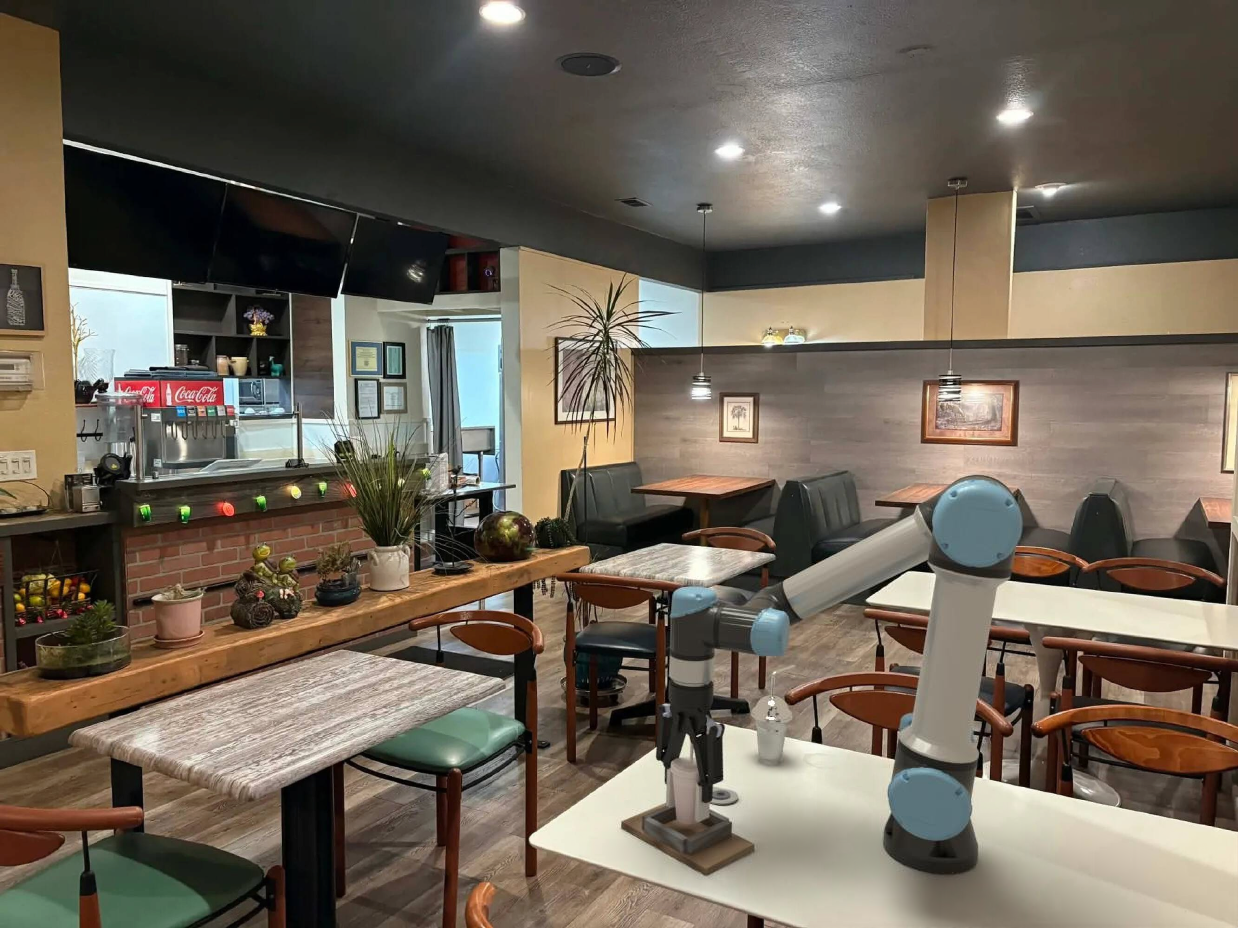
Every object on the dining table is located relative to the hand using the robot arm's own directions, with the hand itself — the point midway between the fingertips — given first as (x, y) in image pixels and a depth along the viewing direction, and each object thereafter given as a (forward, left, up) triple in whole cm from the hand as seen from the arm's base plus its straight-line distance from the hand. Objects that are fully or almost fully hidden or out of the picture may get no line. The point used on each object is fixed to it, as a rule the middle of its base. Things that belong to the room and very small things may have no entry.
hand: (687, 811), depth 154 cm
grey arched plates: (+9, -16, -6) cm, 19 cm away
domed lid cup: (+11, -37, -5) cm, 39 cm away
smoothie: (0, 0, -2) cm, 2 cm away
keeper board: (0, 0, -5) cm, 5 cm away
